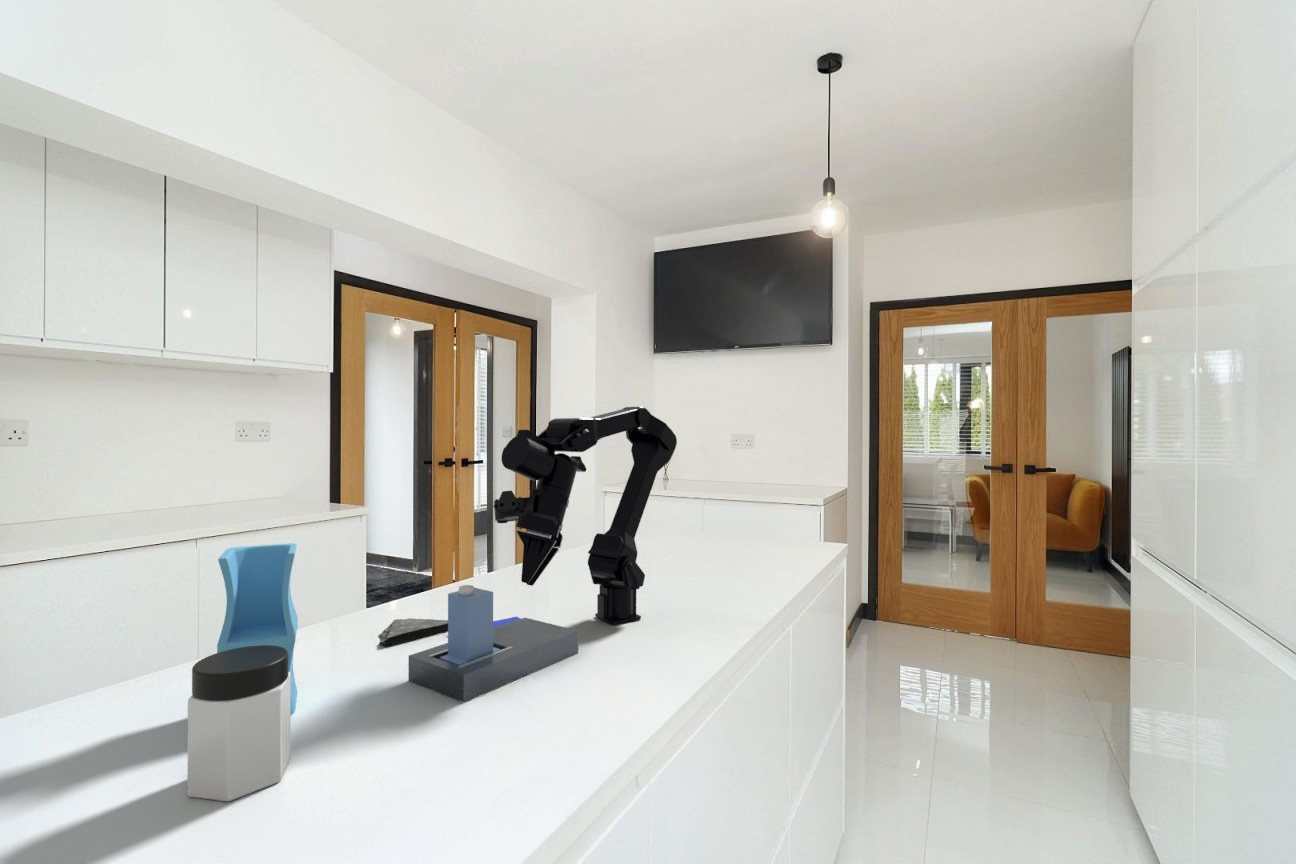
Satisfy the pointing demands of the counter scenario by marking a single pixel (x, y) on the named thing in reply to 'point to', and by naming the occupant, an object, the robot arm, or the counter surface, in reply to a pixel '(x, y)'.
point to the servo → (469, 625)
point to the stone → (411, 630)
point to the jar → (238, 722)
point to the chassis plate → (495, 659)
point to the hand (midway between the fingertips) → (527, 583)
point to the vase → (260, 600)
